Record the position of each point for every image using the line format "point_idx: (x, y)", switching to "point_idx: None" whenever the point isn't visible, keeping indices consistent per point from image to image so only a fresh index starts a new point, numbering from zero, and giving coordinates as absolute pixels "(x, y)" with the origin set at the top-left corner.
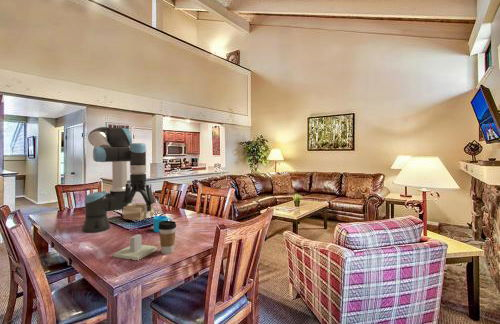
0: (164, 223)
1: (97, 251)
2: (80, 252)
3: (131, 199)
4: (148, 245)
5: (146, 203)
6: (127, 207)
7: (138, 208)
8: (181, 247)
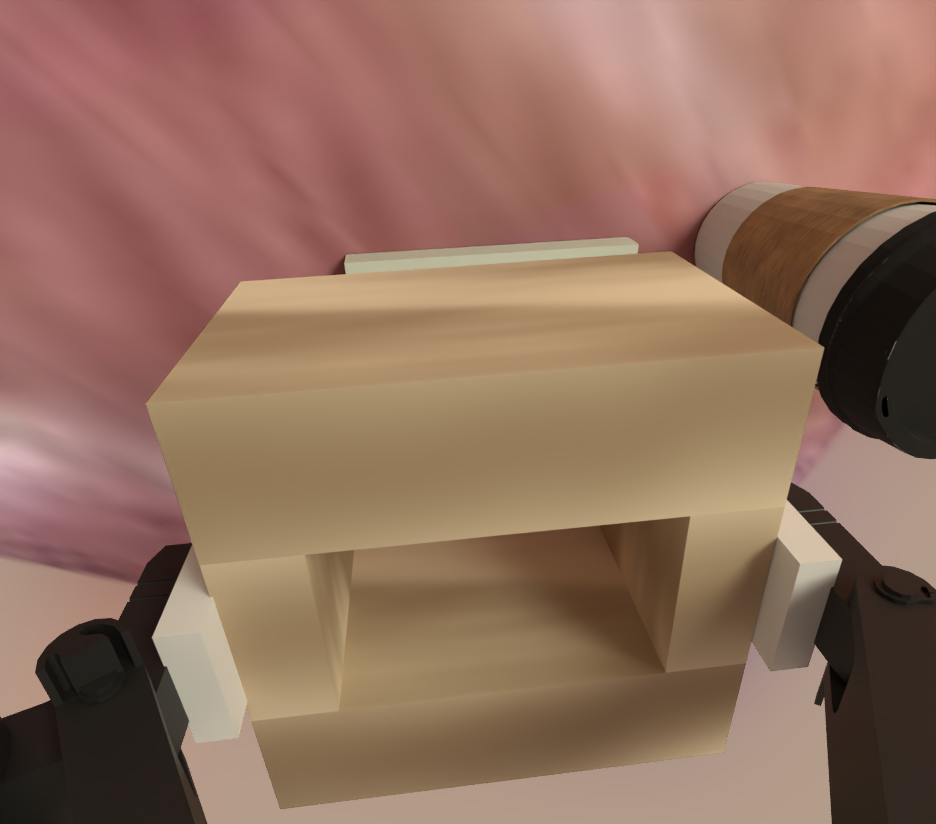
0: (928, 352)
1: (145, 472)
2: (41, 535)
3: (186, 789)
4: (532, 253)
5: (839, 704)
6: (396, 787)
7: (678, 746)
8: (851, 84)
